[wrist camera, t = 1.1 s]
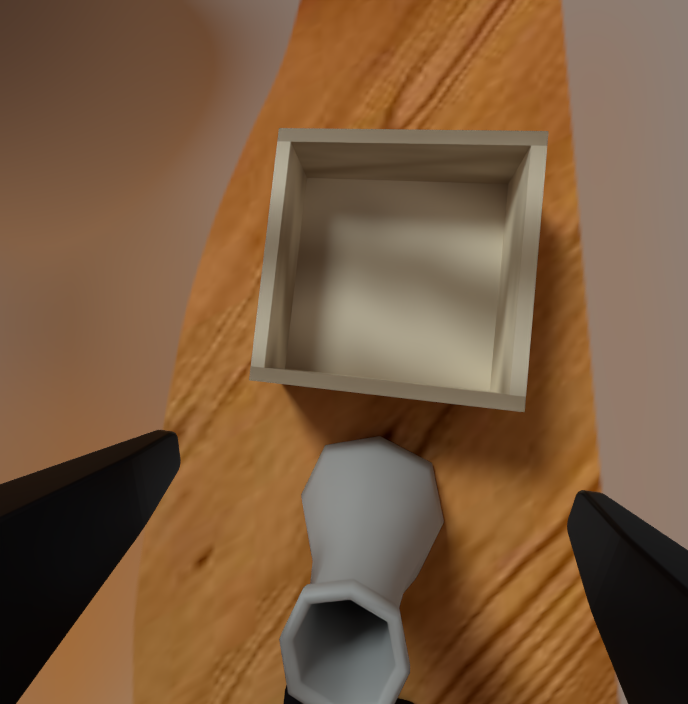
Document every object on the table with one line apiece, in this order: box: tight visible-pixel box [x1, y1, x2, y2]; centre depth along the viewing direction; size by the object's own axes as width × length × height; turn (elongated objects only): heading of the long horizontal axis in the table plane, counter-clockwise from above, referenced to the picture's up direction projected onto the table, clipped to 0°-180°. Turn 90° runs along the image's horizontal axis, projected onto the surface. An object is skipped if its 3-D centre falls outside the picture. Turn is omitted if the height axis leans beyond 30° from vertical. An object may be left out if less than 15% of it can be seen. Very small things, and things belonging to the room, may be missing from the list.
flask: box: [279, 436, 444, 704], centre depth 14 cm, size 7×7×10 cm
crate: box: [249, 128, 548, 412], centre depth 17 cm, size 11×11×4 cm
